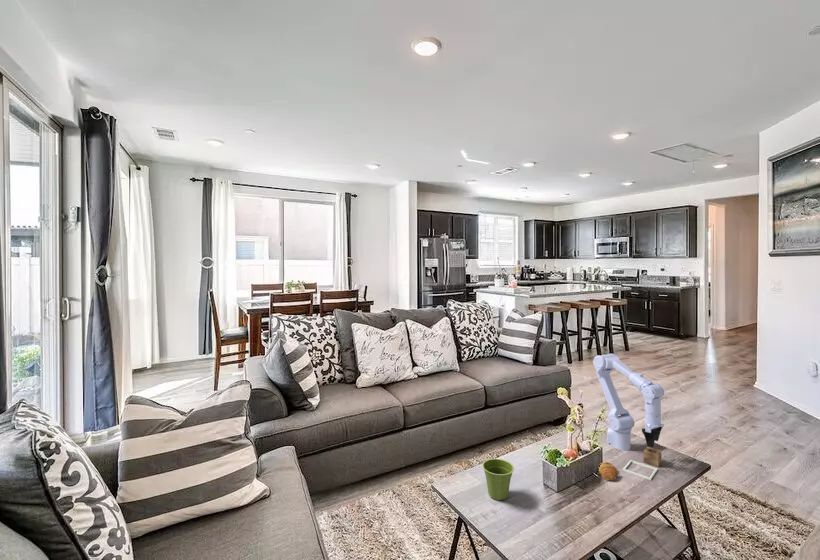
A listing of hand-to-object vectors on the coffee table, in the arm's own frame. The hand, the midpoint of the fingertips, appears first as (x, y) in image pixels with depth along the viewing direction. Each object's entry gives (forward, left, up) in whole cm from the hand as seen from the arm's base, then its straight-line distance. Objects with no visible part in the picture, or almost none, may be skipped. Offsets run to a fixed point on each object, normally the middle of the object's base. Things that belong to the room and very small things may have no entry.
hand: (652, 443), depth 164 cm
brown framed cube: (0, 0, -8) cm, 8 cm away
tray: (-2, -10, -9) cm, 14 cm away
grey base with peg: (0, 0, -9) cm, 9 cm away
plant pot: (-36, -64, -10) cm, 74 cm away
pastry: (-11, -21, -10) cm, 25 cm away
